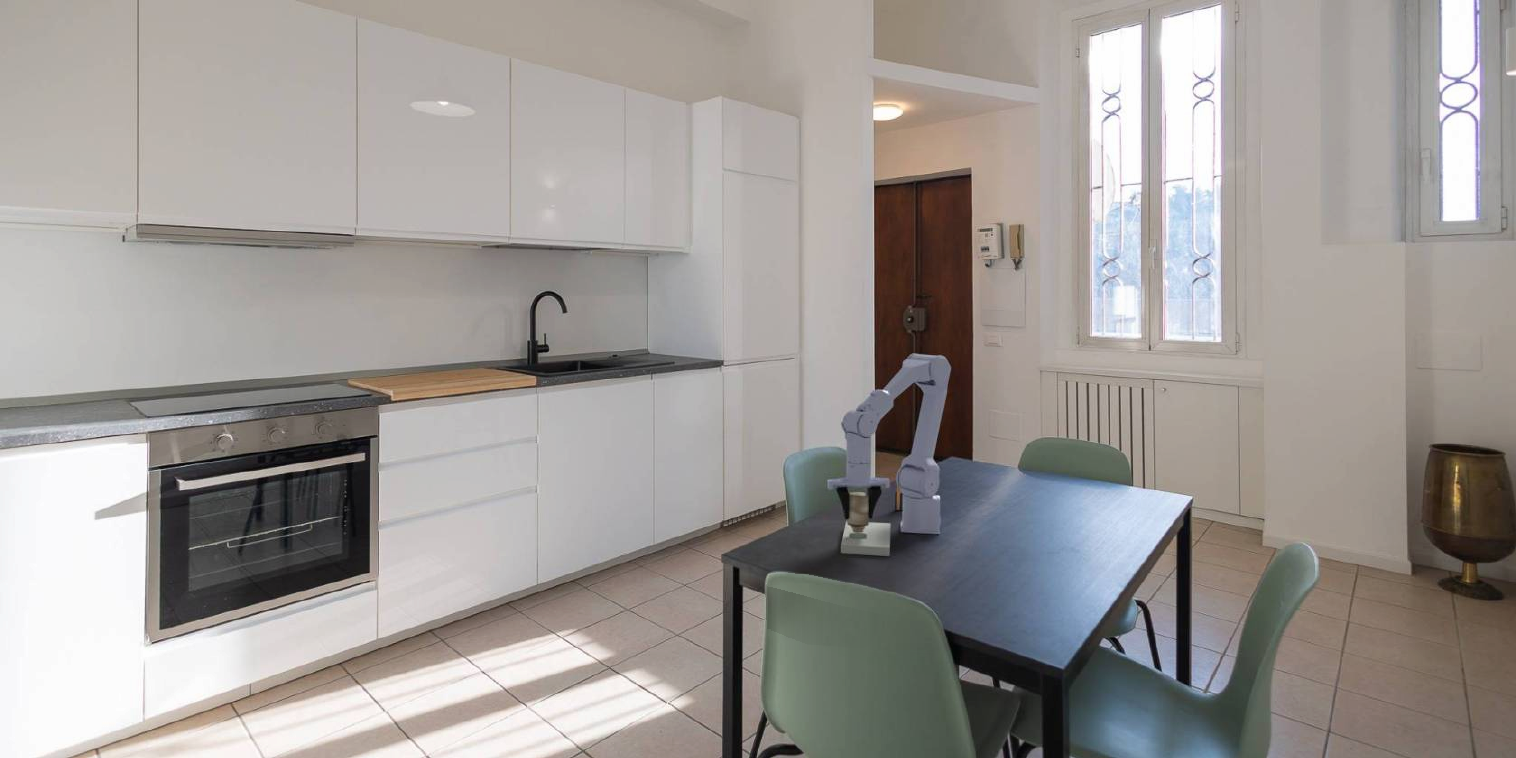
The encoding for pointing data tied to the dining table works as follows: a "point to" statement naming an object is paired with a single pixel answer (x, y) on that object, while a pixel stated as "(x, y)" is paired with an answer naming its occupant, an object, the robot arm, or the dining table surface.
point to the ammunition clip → (899, 498)
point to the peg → (858, 511)
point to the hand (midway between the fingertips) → (858, 517)
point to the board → (867, 540)
